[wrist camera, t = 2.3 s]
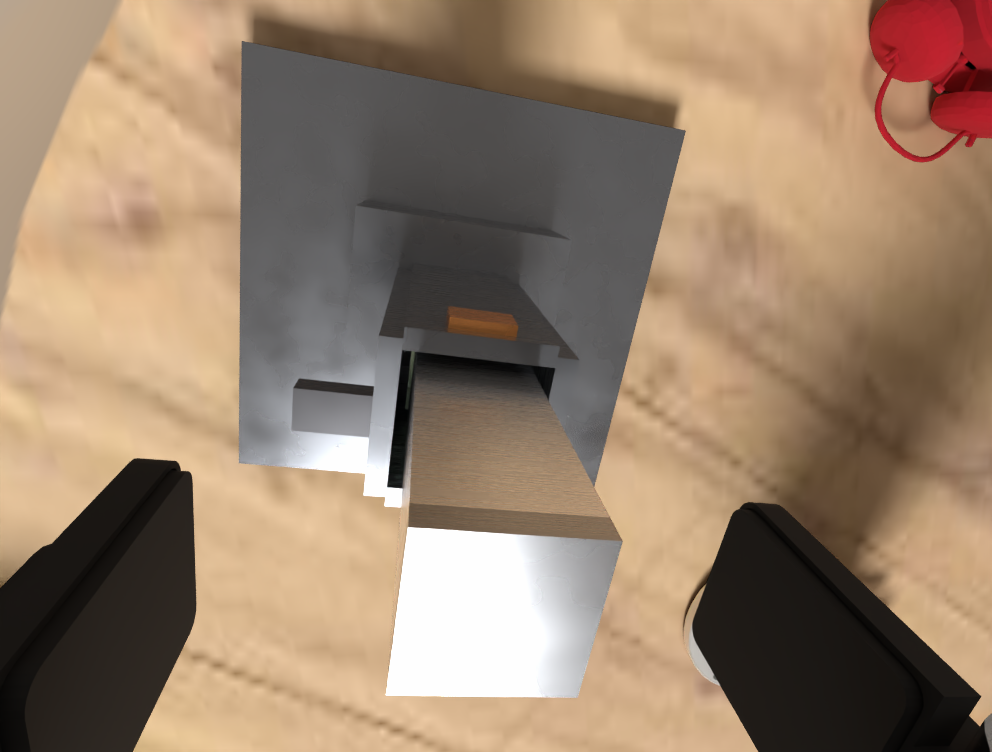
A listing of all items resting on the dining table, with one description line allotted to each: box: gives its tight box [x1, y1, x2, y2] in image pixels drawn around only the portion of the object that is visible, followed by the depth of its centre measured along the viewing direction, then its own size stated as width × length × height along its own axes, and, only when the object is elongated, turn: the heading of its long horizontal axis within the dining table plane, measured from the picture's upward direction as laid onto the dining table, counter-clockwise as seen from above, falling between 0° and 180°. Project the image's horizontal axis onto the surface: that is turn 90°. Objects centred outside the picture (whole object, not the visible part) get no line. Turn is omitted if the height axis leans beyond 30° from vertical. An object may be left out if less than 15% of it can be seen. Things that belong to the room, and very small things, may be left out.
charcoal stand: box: [239, 41, 686, 507], centre depth 22 cm, size 20×20×16 cm
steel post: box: [386, 351, 623, 698], centre depth 16 cm, size 3×3×17 cm
